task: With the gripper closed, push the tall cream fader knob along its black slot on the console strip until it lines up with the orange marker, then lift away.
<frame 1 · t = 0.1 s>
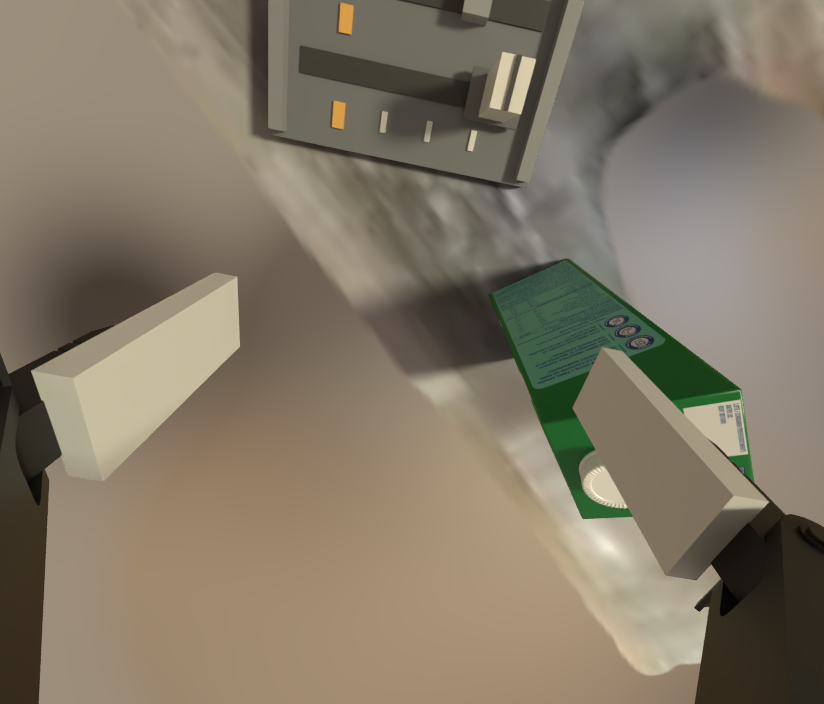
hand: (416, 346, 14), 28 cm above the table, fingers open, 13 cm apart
console: (417, 58, 32), on the table
fader: (502, 92, 28), point 6 cm above the table, slide at 0.0 cm
milk carton: (540, 310, 42), on the table
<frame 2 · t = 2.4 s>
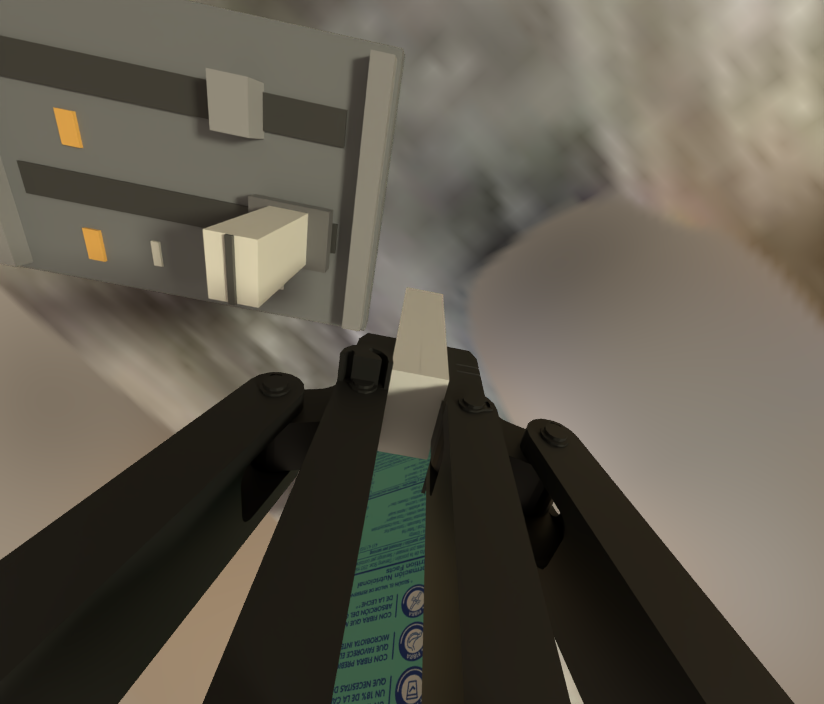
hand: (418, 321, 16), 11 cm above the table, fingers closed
console: (194, 171, 23), on the table
fader: (267, 248, 19), point 6 cm above the table, slide at 0.0 cm
milk carton: (416, 451, 34), on the table
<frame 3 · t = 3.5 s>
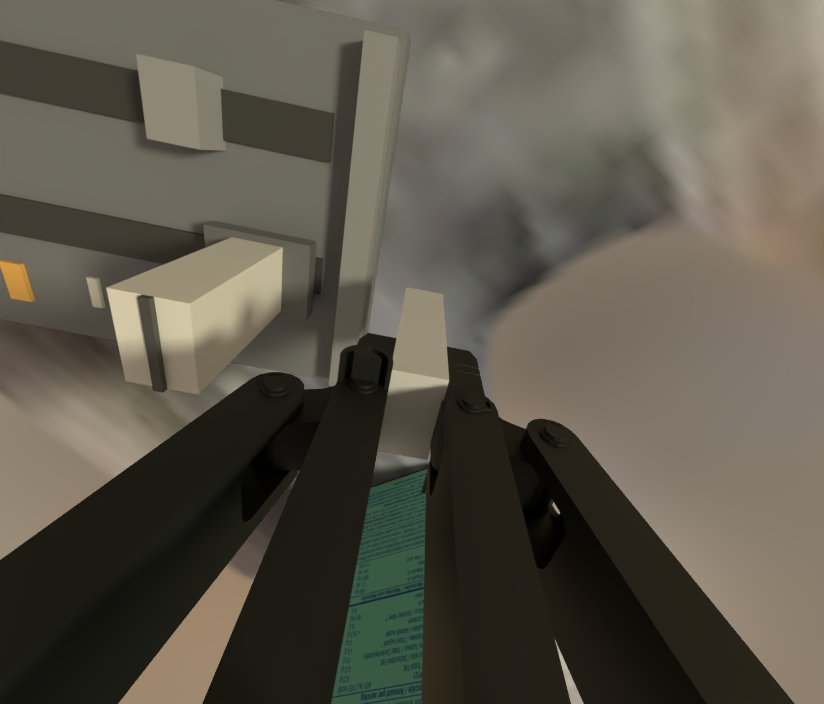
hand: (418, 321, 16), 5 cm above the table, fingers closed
console: (141, 190, 18), on the table
fader: (223, 298, 14), point 6 cm above the table, slide at 0.0 cm
milk carton: (420, 516, 29), on the table
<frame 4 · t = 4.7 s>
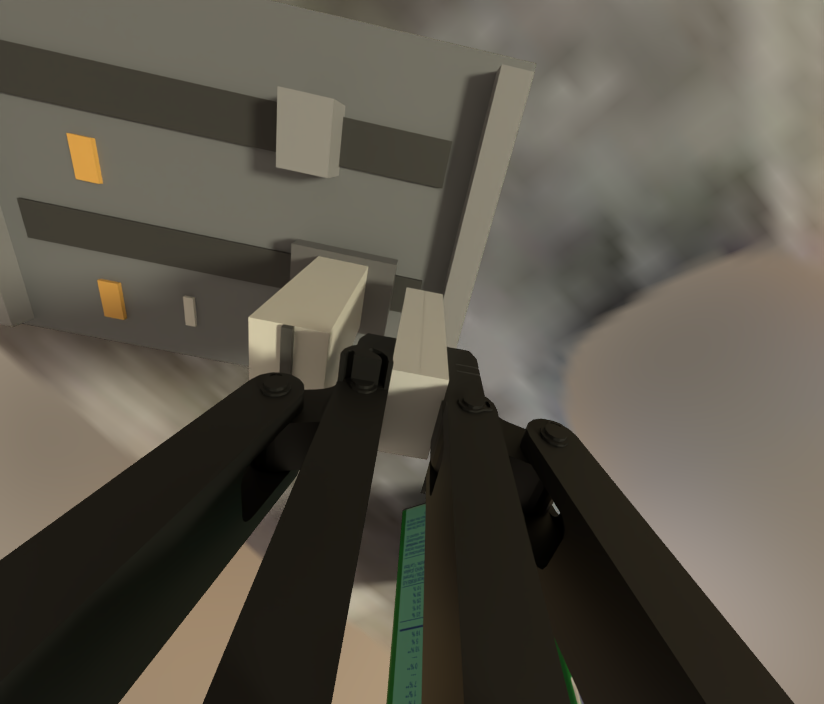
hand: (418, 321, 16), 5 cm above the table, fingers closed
console: (240, 211, 18), on the table
fader: (322, 319, 14), point 6 cm above the table, slide at 1.1 cm, touching gripper
milk carton: (480, 528, 29), on the table
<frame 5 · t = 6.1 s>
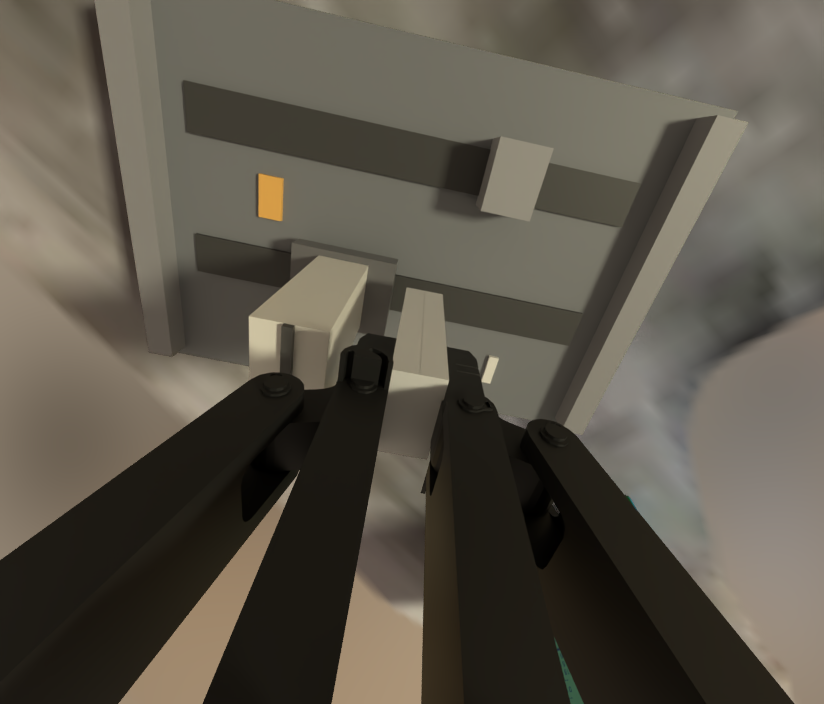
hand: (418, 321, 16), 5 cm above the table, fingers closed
console: (400, 244, 19), on the table
fader: (322, 318, 14), point 6 cm above the table, slide at 9.2 cm, touching gripper
milk carton: (579, 545, 29), on the table
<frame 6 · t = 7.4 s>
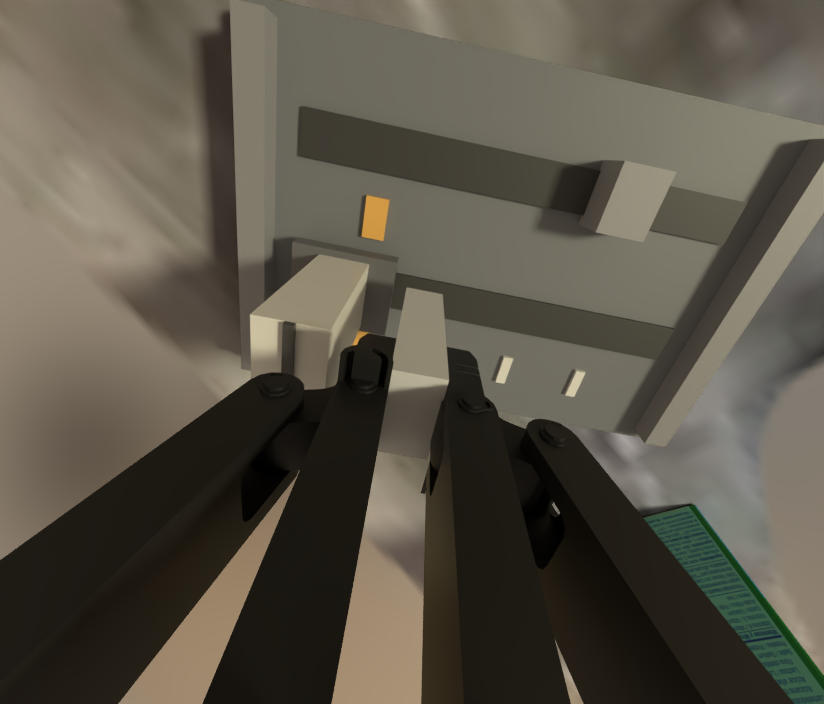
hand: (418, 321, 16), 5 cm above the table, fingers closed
console: (491, 261, 19), on the table
fader: (323, 317, 14), point 6 cm above the table, slide at 13.9 cm, touching gripper
milk carton: (639, 553, 29), on the table
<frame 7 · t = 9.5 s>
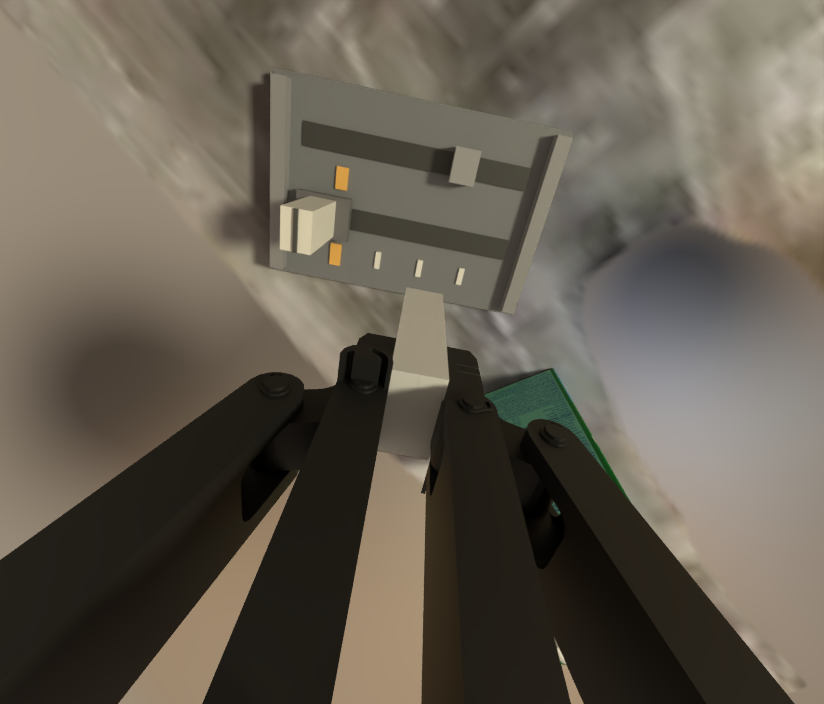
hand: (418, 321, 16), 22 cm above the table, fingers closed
console: (409, 204, 34), on the table
fader: (311, 222, 29), point 6 cm above the table, slide at 14.1 cm
milk carton: (527, 410, 44), on the table
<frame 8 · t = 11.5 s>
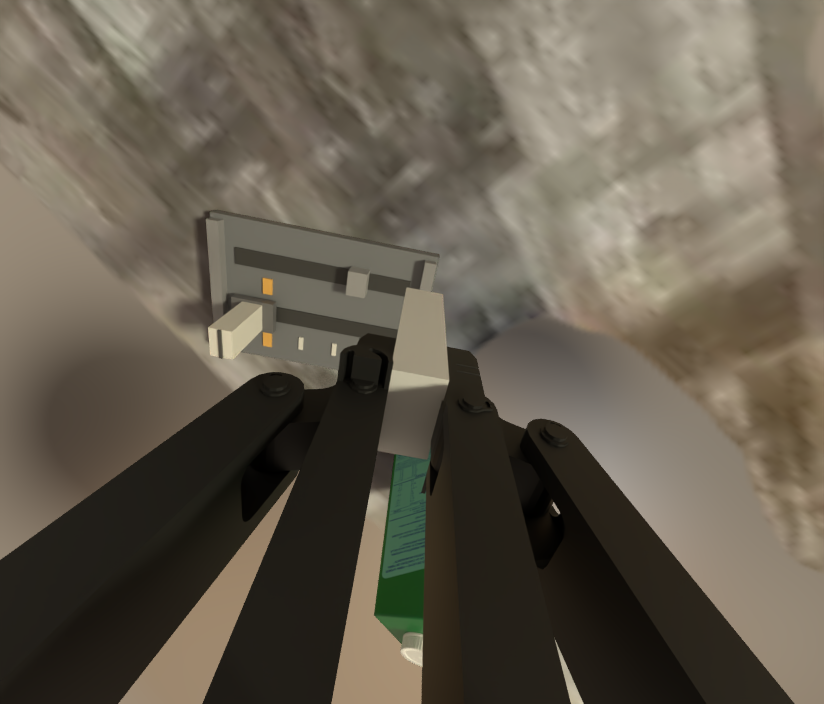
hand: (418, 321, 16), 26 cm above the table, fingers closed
console: (324, 301, 44), on the table
fader: (239, 327, 39), point 6 cm above the table, slide at 14.1 cm
milk carton: (437, 452, 54), on the table
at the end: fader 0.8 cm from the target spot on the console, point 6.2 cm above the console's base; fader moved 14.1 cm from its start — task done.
